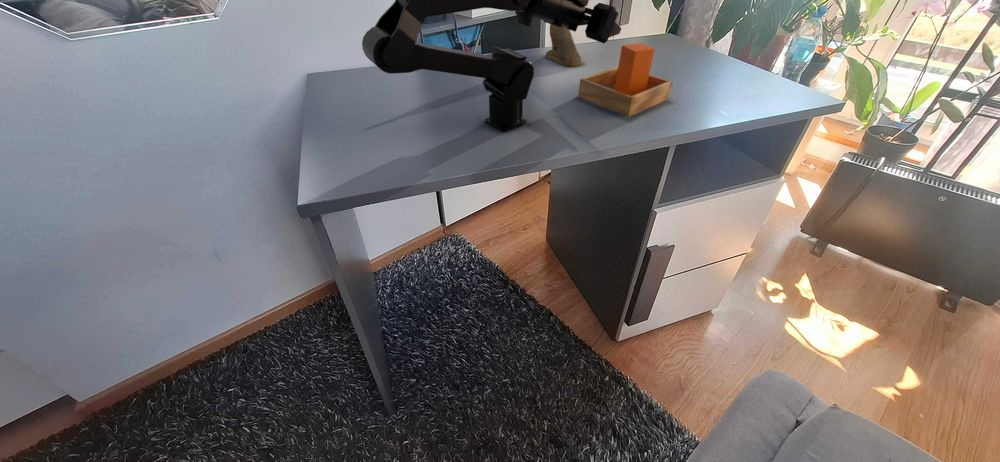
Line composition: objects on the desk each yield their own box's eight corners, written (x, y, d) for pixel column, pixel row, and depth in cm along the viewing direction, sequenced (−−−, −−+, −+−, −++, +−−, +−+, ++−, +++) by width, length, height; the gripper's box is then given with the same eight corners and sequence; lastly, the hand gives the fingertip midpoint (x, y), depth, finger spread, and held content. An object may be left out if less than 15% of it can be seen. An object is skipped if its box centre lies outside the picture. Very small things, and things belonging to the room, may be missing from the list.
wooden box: (627, 119, 89) (632, 98, 86) (577, 99, 98) (580, 78, 95) (667, 102, 96) (672, 81, 93) (617, 84, 105) (620, 65, 102)
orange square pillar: (625, 102, 94) (635, 51, 87) (613, 94, 98) (621, 45, 91) (644, 98, 96) (654, 48, 89) (631, 91, 99) (640, 42, 92)
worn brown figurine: (544, 65, 124) (540, -3, 115) (559, 62, 126) (556, -6, 117) (568, 68, 115) (565, -6, 106) (584, 64, 116) (582, -9, 108)
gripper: (601, -37, 69) (656, -9, 78) (537, -48, 81) (591, -23, 90) (576, 33, 74) (629, 52, 83) (519, 13, 86) (571, 31, 96)
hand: (604, 26), depth 88 cm, fingers open, 9 cm apart
